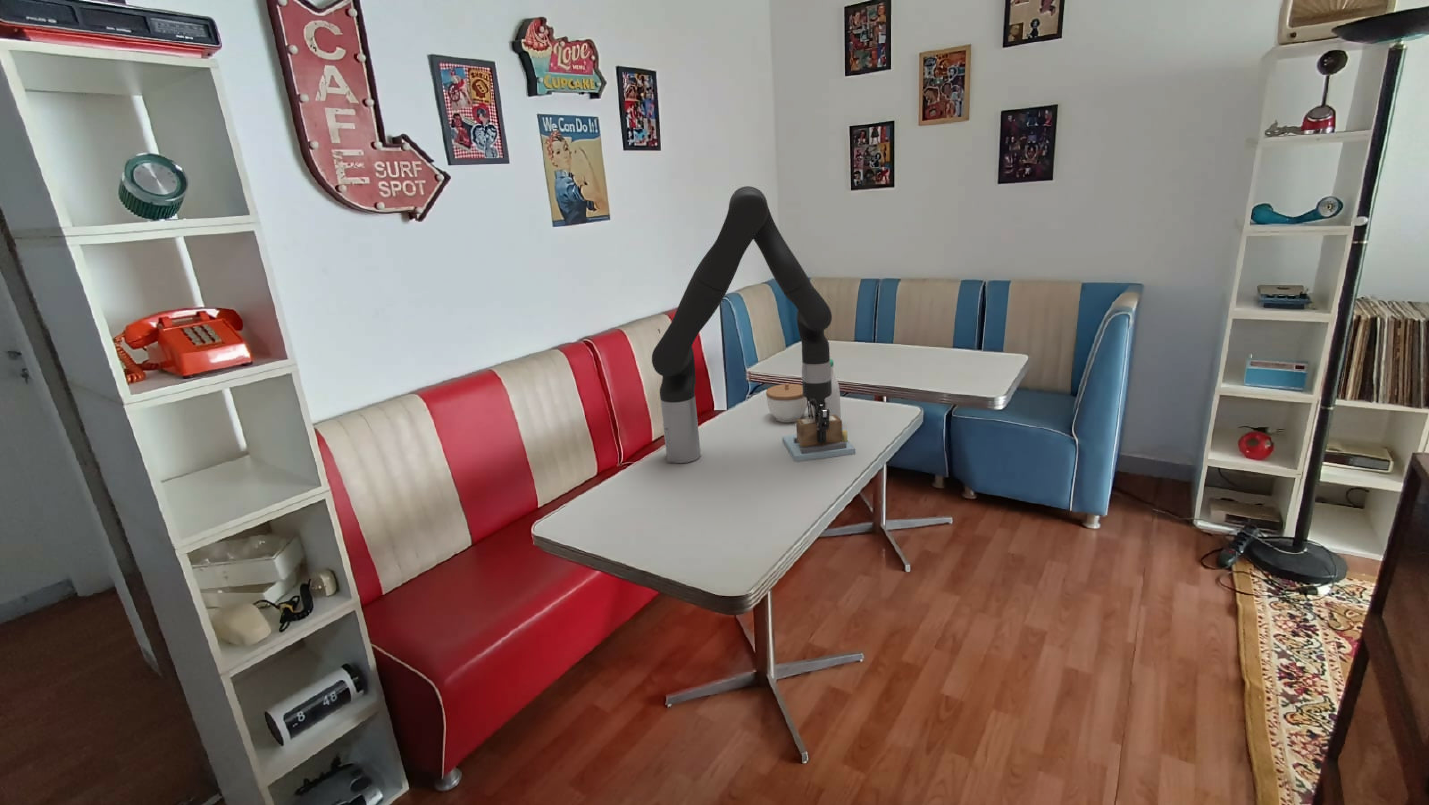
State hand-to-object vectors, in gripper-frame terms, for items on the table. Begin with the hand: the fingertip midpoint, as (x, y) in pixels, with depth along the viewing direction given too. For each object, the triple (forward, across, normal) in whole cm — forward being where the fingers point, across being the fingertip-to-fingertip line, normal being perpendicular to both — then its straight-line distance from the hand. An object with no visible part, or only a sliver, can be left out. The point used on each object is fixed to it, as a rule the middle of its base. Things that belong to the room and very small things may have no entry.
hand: (818, 438), depth 185 cm
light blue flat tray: (+3, +2, 0) cm, 4 cm away
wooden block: (+1, 0, 0) cm, 1 cm away
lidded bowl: (+4, +28, +2) cm, 28 cm away
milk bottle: (+3, +16, -7) cm, 18 cm away
